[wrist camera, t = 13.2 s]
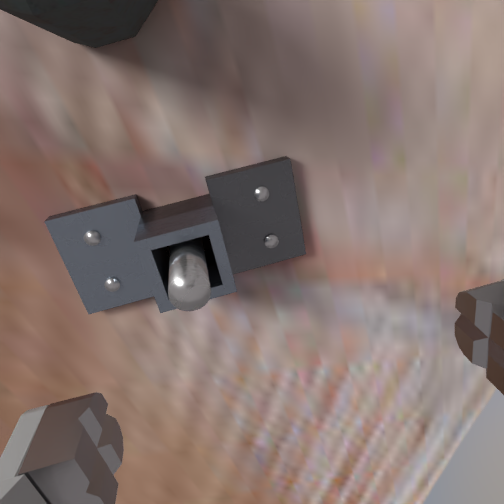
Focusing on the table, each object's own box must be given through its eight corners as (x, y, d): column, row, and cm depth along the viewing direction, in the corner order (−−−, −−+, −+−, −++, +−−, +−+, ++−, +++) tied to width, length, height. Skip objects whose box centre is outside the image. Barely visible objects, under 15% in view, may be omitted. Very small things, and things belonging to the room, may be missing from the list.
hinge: (285, 156, 36) (313, 172, 29) (301, 248, 41) (329, 283, 33) (49, 216, 35) (16, 249, 27) (91, 306, 39) (72, 356, 32)
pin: (196, 216, 37) (204, 269, 26) (204, 243, 38) (215, 304, 28) (166, 223, 37) (162, 280, 26) (175, 251, 38) (175, 315, 27)
